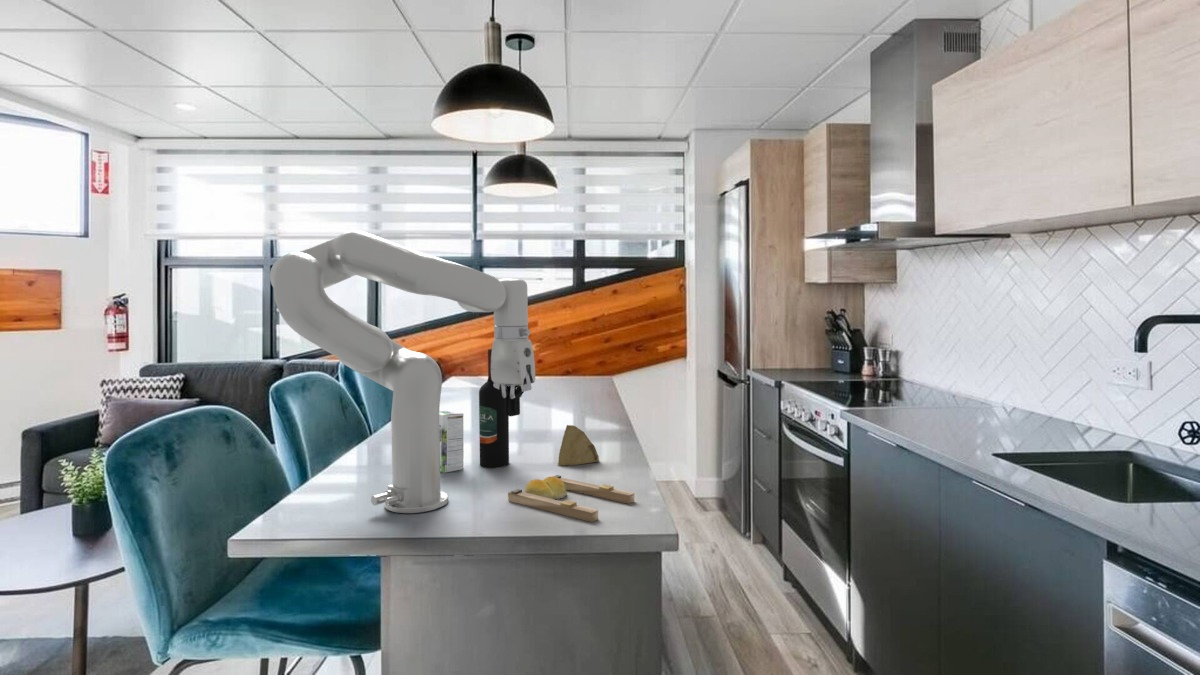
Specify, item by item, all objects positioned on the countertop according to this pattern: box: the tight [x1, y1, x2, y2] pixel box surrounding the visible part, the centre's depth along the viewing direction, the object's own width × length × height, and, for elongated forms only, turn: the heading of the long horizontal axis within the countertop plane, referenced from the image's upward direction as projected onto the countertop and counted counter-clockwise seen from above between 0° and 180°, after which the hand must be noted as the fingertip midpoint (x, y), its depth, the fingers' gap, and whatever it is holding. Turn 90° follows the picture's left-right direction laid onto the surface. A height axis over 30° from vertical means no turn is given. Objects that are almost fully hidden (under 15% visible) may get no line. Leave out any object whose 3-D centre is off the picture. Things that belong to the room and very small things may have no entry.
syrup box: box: [439, 410, 465, 474], centre depth 152 cm, size 6×6×14 cm
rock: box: [557, 424, 600, 467], centre depth 158 cm, size 11×9×10 cm
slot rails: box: [507, 474, 635, 523], centre depth 127 cm, size 15×22×2 cm
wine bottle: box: [478, 348, 510, 469], centre depth 156 cm, size 8×8×30 cm
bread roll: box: [524, 476, 568, 500], centre depth 131 cm, size 8×9×4 cm
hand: (512, 415), depth 136 cm, fingers closed
